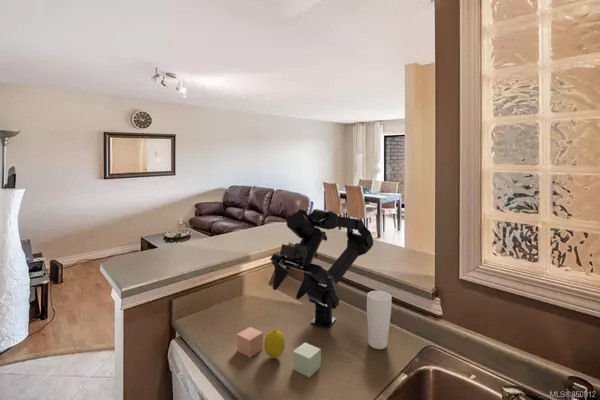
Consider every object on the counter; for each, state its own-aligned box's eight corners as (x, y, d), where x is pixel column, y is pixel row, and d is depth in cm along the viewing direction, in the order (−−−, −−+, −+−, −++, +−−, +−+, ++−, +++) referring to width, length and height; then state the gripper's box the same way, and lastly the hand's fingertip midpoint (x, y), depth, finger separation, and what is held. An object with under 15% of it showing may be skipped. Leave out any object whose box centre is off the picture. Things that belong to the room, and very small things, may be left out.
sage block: (304, 359, 85) (304, 342, 84) (320, 367, 82) (320, 349, 81) (293, 369, 81) (293, 351, 80) (309, 377, 78) (309, 358, 77)
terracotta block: (250, 342, 93) (250, 326, 92) (262, 349, 90) (262, 332, 89) (237, 351, 89) (237, 334, 88) (250, 357, 86) (249, 340, 85)
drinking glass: (391, 341, 93) (393, 292, 92) (387, 354, 87) (389, 302, 86) (368, 336, 96) (370, 288, 94) (362, 348, 90) (364, 297, 88)
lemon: (282, 365, 82) (282, 336, 81) (261, 362, 83) (261, 334, 82) (287, 353, 88) (287, 325, 87) (267, 350, 89) (267, 323, 88)
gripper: (272, 227, 97) (246, 274, 91) (320, 237, 85) (294, 292, 79) (291, 245, 104) (269, 289, 98) (338, 257, 92) (315, 308, 86)
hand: (285, 294), depth 90 cm, fingers open, 9 cm apart
